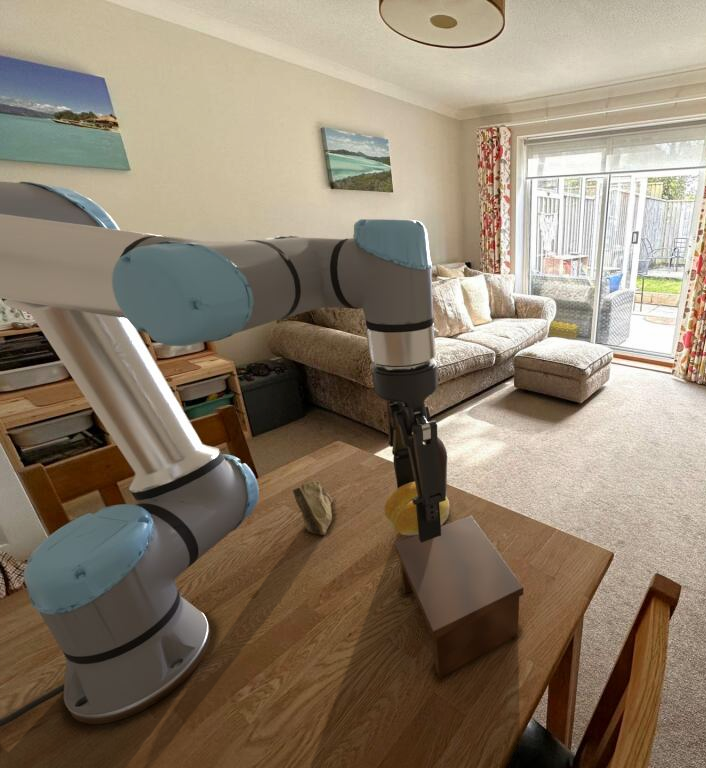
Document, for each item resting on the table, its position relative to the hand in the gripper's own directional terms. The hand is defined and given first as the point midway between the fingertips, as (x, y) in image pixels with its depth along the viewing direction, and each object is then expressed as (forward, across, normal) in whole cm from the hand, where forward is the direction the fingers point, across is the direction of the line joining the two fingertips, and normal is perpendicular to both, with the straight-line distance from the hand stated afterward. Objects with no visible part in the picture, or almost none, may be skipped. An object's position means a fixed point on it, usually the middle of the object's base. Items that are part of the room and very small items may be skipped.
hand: (418, 514), depth 56 cm
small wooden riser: (+22, +1, -5) cm, 23 cm away
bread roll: (0, 0, 0) cm, 1 cm away
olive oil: (+22, +25, -8) cm, 34 cm away
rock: (+22, +35, +12) cm, 43 cm away
